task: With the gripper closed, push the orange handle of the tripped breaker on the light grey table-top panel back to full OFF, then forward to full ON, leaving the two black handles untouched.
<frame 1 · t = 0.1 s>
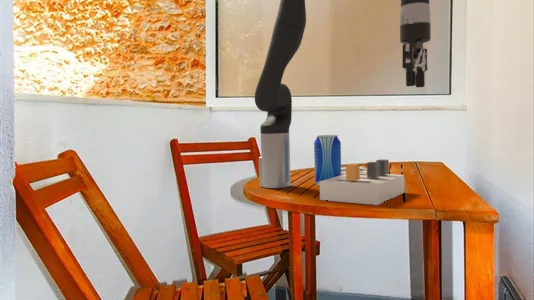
hand: (415, 86, 119), 29 cm above the table, fingers open, 8 cm apart
tripped breaker: (353, 200, 119), resting on breaker panel, slide at 0.0 cm
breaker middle: (373, 197, 123), resting on breaker panel, slide at 3.0 cm
breaker panel: (363, 196, 124), on the table
beer can: (328, 185, 146), on the table
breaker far: (382, 193, 128), resting on breaker panel, slide at 3.0 cm
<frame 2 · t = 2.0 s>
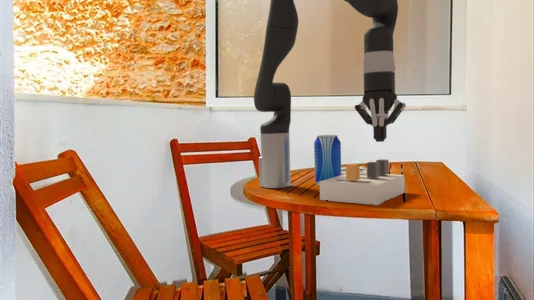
hand: (380, 141, 114), 15 cm above the table, fingers closed
nothing on the table moved.
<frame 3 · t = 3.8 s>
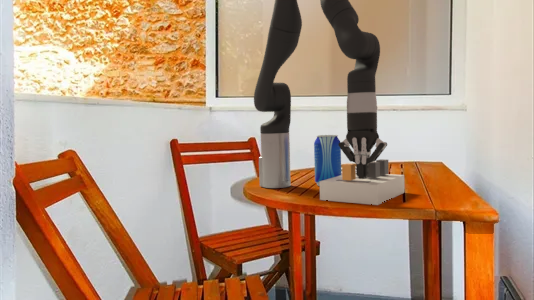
hand: (362, 178, 117), 6 cm above the table, fingers closed
tripped breaker: (349, 199, 120), resting on breaker panel, slide at -1.1 cm, touching gripper
everything else where it was.
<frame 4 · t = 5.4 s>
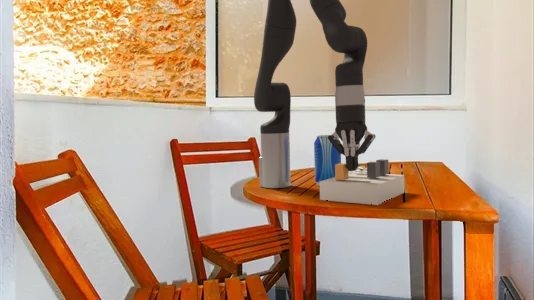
hand: (352, 170, 119), 8 cm above the table, fingers closed
tripped breaker: (342, 199, 121), resting on breaker panel, slide at -3.2 cm, touching gripper
everything else where it was.
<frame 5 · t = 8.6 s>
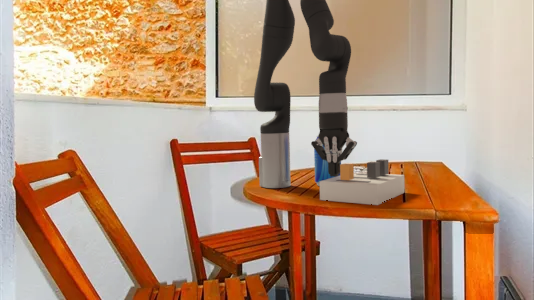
hand: (334, 176, 122), 6 cm above the table, fingers closed
tripped breaker: (347, 199, 120), resting on breaker panel, slide at -1.7 cm, touching gripper
everything else where it was.
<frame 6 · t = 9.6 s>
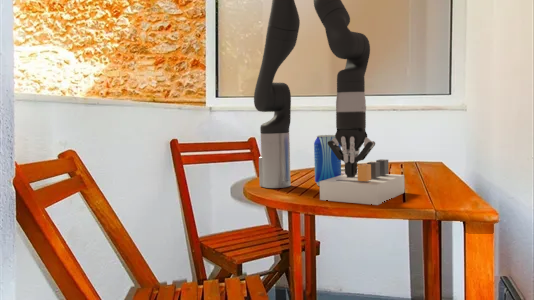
hand: (351, 176, 119), 6 cm above the table, fingers closed
tripped breaker: (364, 201, 117), resting on breaker panel, slide at 3.2 cm, touching gripper
everything else where it was.
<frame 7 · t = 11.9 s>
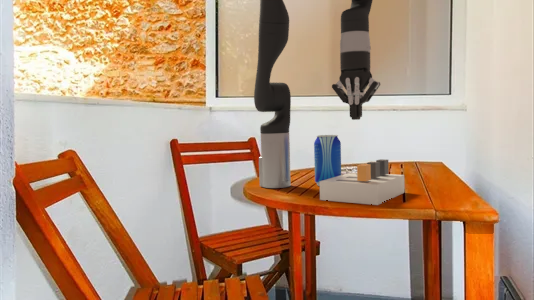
hand: (356, 119, 117), 21 cm above the table, fingers closed
tripped breaker: (364, 201, 117), resting on breaker panel, slide at 3.1 cm
everything else where it was.
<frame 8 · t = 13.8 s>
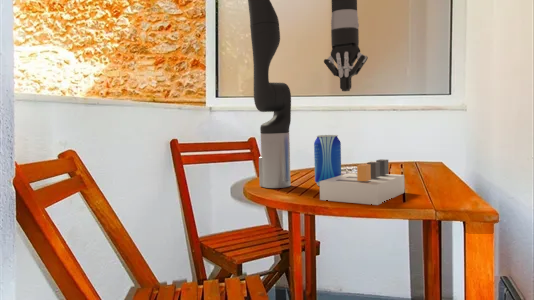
hand: (345, 91, 128), 29 cm above the table, fingers closed
nothing on the table moved.
at the end: tripped breaker slide at 3.1 cm; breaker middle slide at 3.0 cm; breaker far slide at 3.0 cm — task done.
